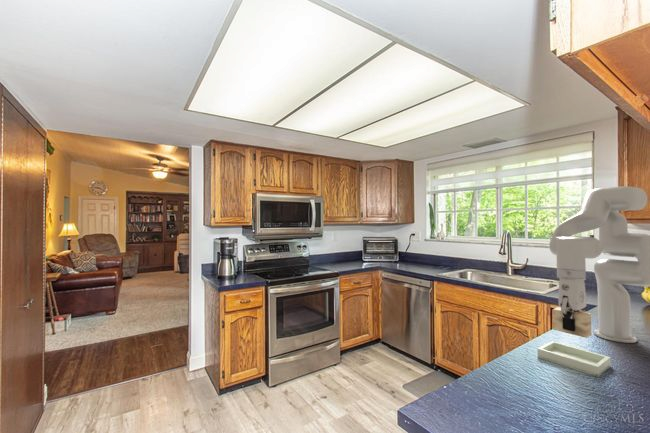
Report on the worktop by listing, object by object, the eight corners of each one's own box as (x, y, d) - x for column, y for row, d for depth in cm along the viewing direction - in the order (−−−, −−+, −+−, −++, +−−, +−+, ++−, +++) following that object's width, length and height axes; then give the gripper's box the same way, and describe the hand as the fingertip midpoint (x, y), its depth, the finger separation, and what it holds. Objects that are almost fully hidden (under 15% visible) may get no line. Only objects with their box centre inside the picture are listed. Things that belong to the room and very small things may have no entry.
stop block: (591, 335, 97) (591, 313, 98) (586, 338, 95) (586, 315, 95) (558, 327, 105) (558, 307, 105) (553, 329, 102) (552, 309, 103)
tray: (552, 349, 110) (552, 340, 110) (610, 366, 96) (610, 357, 96) (537, 357, 103) (537, 348, 103) (598, 377, 90) (598, 367, 90)
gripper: (575, 278, 93) (576, 337, 92) (594, 273, 102) (595, 327, 101) (547, 274, 99) (548, 330, 98) (567, 270, 108) (568, 321, 108)
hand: (571, 328), depth 100 cm, fingers closed on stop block, 4 cm apart
